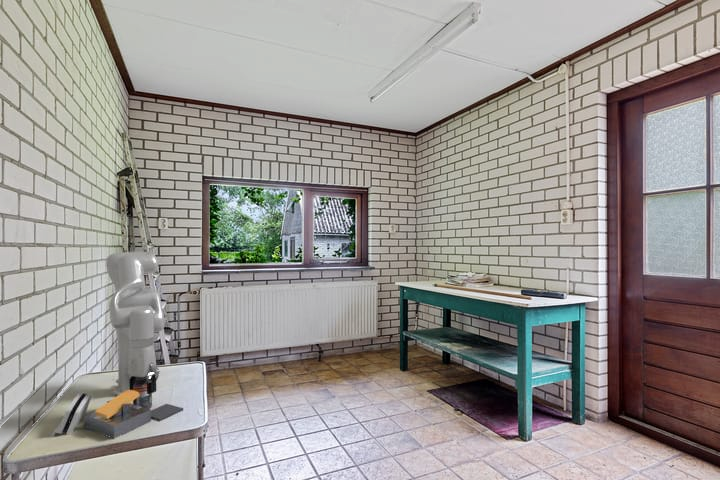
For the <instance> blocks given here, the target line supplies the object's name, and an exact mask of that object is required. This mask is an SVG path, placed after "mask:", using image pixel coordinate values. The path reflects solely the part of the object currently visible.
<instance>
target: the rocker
mask: <svg viewBox="0 0 720 480" xmlns="http://www.w3.org/2000/svg"><path fill="white" fill-rule="evenodd" d="M139 396H140V395H139V392H137V391H133V390H129V389H127V390H125V391H124V392H122V393H121V394H120V395H118V396H117V395H116V396H115V397H114V398H112V399H110V400H111V401H110V400H108V401H109V402H108V403H107V402H106V403H105V404H104V405H101V407H99V408H98V409H96V410H95V413H96V415H97V416H100V417H103V418H106V419H108V418H110V417H111V416H113V415H114V414H115V413H117V412H118V411H119V410H121V406H122V405H125V404H127V403H128V404H129V403H130V404H131V403H133V400H135V399H136V398H137V397H139Z"/></svg>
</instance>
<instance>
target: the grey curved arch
mask: <svg viewBox="0 0 720 480" xmlns="http://www.w3.org/2000/svg"><path fill="white" fill-rule="evenodd" d="M92 397H93V394H91V393H85V392H79V393H78V394H77V395H76V396H75V397H74V398H73V400H72V401H71V403H70V404H69V406H68V408H67V409H66V412H65V413H64V416H63V418H62V420H61V421H60V423H59V424H58V425H57V426H56V428H55V429H54V430H53V432H52V434H51V436H53V437H55V435H56V434H62V433H65V435H71V434H72V433H73V431H74V430H75V429H76V427H77V426H78V424H79V423H80V421H81V420H82V419H83V417H84V415H86V413H87V409H88V408H89V405H90V402H91V400H92Z"/></svg>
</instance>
